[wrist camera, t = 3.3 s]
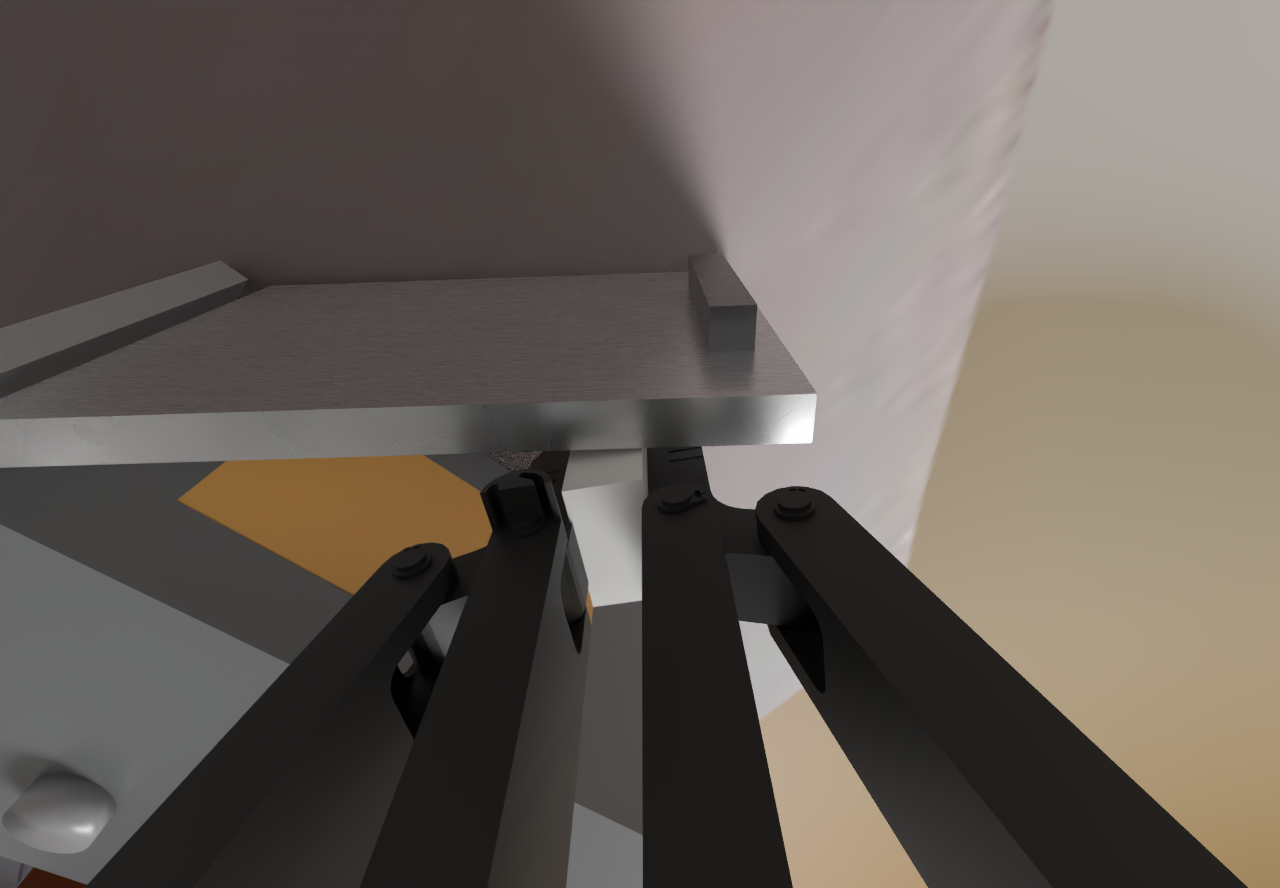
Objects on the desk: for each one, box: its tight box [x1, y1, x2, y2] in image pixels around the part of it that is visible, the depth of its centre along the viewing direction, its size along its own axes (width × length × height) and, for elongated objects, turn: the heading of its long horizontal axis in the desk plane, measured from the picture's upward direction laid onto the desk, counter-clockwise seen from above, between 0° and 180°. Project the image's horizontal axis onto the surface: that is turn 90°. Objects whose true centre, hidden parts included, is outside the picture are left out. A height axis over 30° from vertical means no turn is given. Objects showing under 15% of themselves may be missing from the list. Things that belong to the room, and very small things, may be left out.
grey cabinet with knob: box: [0, 261, 643, 888], centre depth 21 cm, size 13×24×13 cm, turn 50°
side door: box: [0, 254, 817, 468], centre depth 16 cm, size 2×16×11 cm, turn 92°
